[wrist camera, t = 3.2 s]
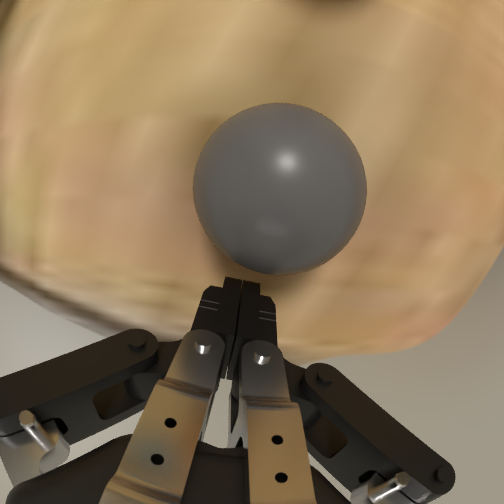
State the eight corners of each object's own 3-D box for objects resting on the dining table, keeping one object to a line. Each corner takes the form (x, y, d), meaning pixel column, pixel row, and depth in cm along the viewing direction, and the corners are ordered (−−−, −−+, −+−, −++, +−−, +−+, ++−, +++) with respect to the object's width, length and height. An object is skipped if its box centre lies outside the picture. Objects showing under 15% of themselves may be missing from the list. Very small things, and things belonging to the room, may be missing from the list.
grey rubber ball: (192, 137, 11) (134, 144, 6) (318, 95, 10) (363, 67, 5) (237, 251, 13) (220, 331, 8) (353, 216, 12) (407, 276, 7)
